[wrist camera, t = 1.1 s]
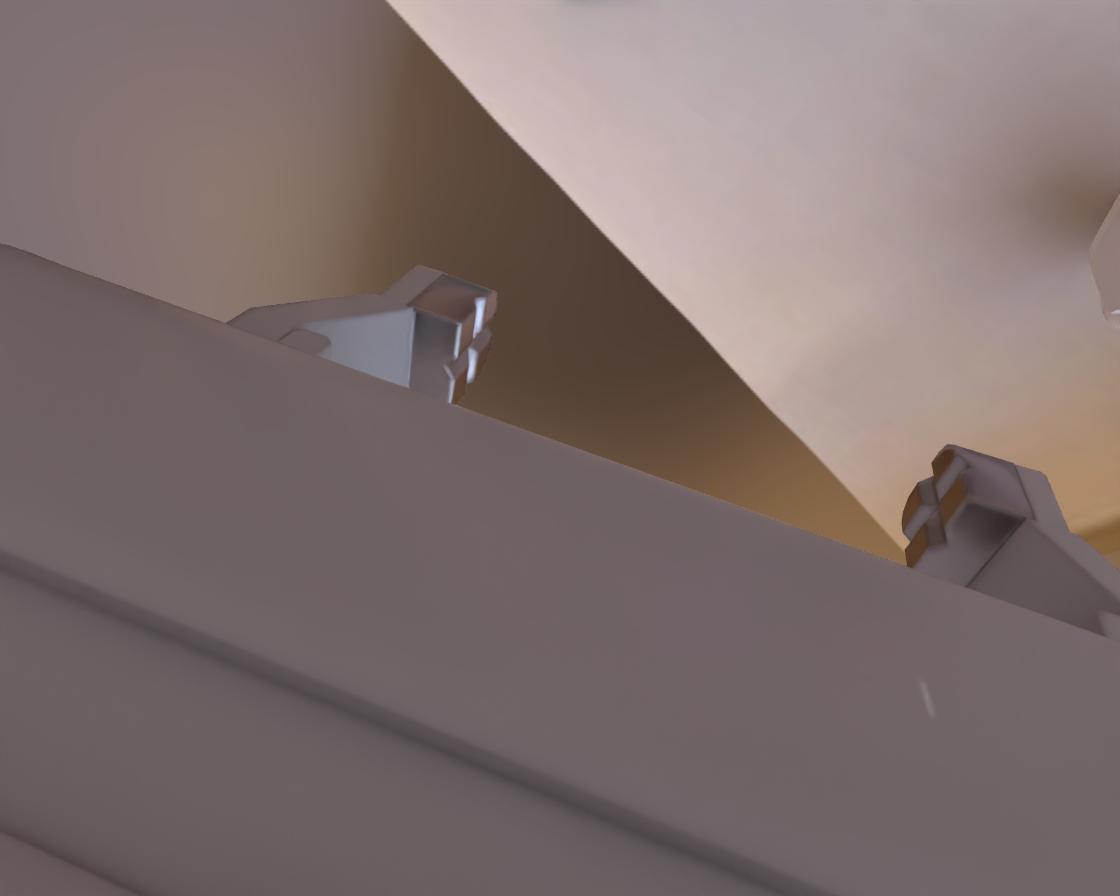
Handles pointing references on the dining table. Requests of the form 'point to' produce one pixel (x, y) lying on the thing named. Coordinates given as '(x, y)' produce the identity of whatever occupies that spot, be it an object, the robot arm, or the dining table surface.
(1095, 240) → the headset
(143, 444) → the robot arm
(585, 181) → the dining table surface
